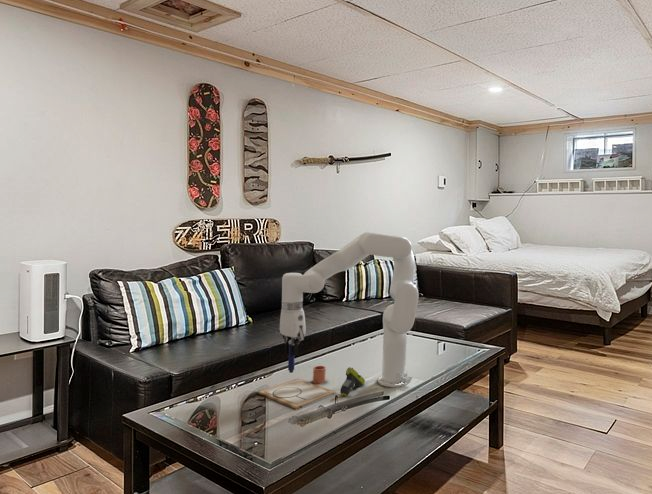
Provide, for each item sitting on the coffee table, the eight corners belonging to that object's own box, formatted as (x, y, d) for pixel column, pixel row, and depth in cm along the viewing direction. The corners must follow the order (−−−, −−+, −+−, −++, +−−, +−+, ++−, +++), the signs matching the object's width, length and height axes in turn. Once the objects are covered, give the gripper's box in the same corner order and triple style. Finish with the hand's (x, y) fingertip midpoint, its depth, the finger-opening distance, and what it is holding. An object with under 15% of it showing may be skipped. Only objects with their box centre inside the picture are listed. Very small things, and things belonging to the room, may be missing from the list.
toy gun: (357, 404, 191) (366, 379, 197) (343, 393, 180) (352, 366, 186) (352, 403, 192) (360, 378, 198) (337, 392, 181) (347, 365, 187)
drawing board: (335, 394, 186) (335, 391, 186) (296, 409, 171) (296, 406, 171) (297, 380, 199) (298, 378, 199) (258, 393, 184) (258, 390, 184)
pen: (295, 372, 186) (295, 340, 186) (290, 373, 185) (291, 341, 184) (291, 370, 188) (292, 339, 187) (286, 372, 186) (287, 340, 186)
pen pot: (327, 382, 198) (328, 367, 198) (318, 385, 194) (318, 370, 194) (319, 379, 201) (320, 365, 201) (310, 382, 197) (310, 367, 197)
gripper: (314, 307, 184) (313, 356, 185) (287, 301, 193) (286, 348, 194) (298, 310, 178) (297, 361, 178) (270, 304, 187) (269, 352, 187)
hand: (291, 353), depth 186 cm, fingers closed on pen, 2 cm apart
